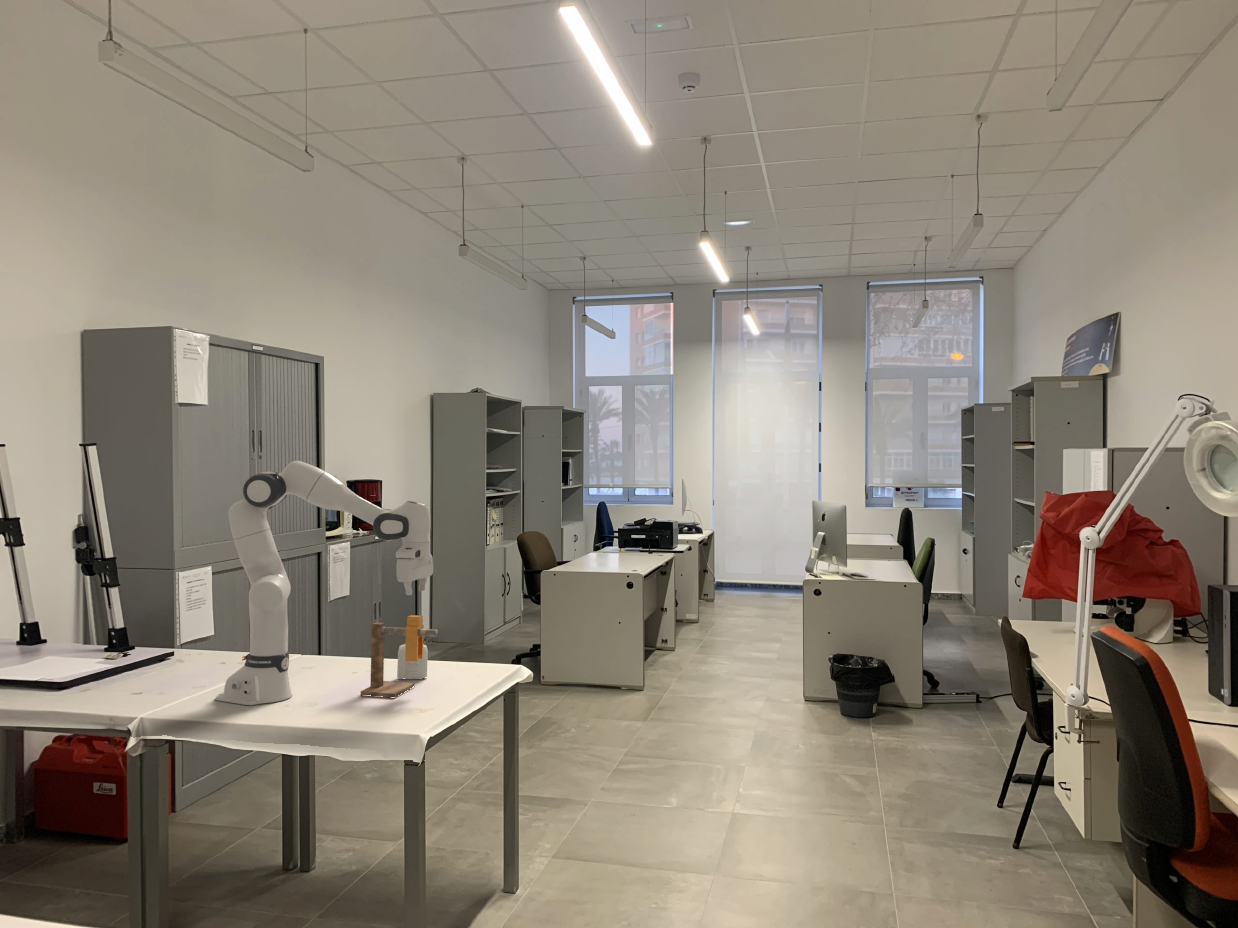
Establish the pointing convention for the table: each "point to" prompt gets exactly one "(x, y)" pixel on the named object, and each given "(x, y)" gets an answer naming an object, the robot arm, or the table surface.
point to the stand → (377, 661)
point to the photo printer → (411, 665)
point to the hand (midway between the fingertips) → (415, 592)
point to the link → (414, 638)
